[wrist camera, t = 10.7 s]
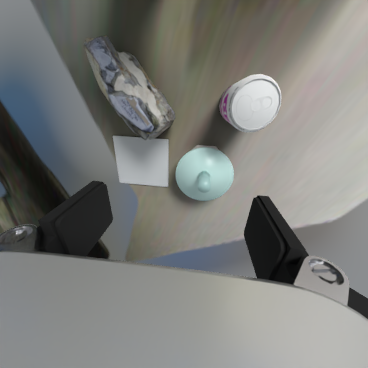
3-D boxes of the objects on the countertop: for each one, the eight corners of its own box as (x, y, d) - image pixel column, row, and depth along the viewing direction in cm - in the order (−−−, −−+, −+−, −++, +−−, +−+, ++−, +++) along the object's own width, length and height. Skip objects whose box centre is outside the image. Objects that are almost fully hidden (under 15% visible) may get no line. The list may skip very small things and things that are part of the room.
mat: (113, 135, 44) (112, 135, 43) (168, 139, 43) (168, 139, 42) (120, 182, 50) (119, 182, 50) (168, 186, 49) (168, 186, 49)
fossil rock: (112, 71, 40) (59, 33, 26) (143, 46, 38) (102, -11, 24) (154, 144, 43) (127, 146, 29) (185, 126, 41) (171, 117, 27)
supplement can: (222, 126, 40) (231, 139, 27) (216, 89, 37) (224, 82, 23) (256, 118, 38) (285, 126, 25) (254, 78, 35) (285, 63, 22)
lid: (176, 144, 38) (172, 152, 32) (238, 149, 37) (244, 157, 31) (175, 196, 44) (171, 210, 38) (227, 201, 43) (231, 216, 37)
